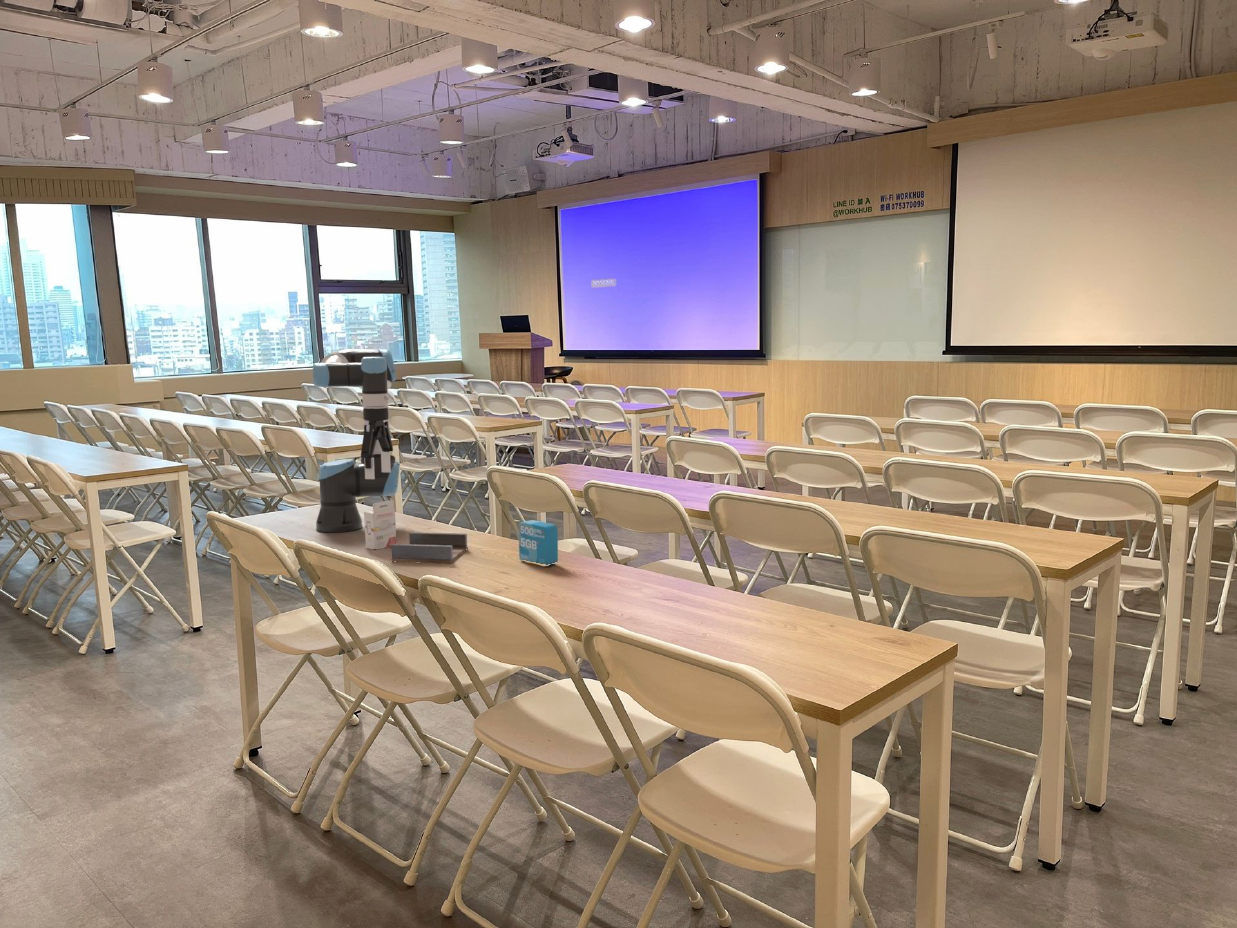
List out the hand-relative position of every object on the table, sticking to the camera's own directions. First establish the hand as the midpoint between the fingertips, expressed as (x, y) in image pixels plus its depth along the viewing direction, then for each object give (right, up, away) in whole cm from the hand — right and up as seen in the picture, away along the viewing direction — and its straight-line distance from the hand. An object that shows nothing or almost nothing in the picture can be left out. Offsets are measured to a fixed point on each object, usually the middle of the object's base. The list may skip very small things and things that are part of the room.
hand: (378, 475), depth 278 cm
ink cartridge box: (0, -23, +4) cm, 23 cm away
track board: (+18, -24, -7) cm, 31 cm away
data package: (+51, -26, -16) cm, 59 cm away
